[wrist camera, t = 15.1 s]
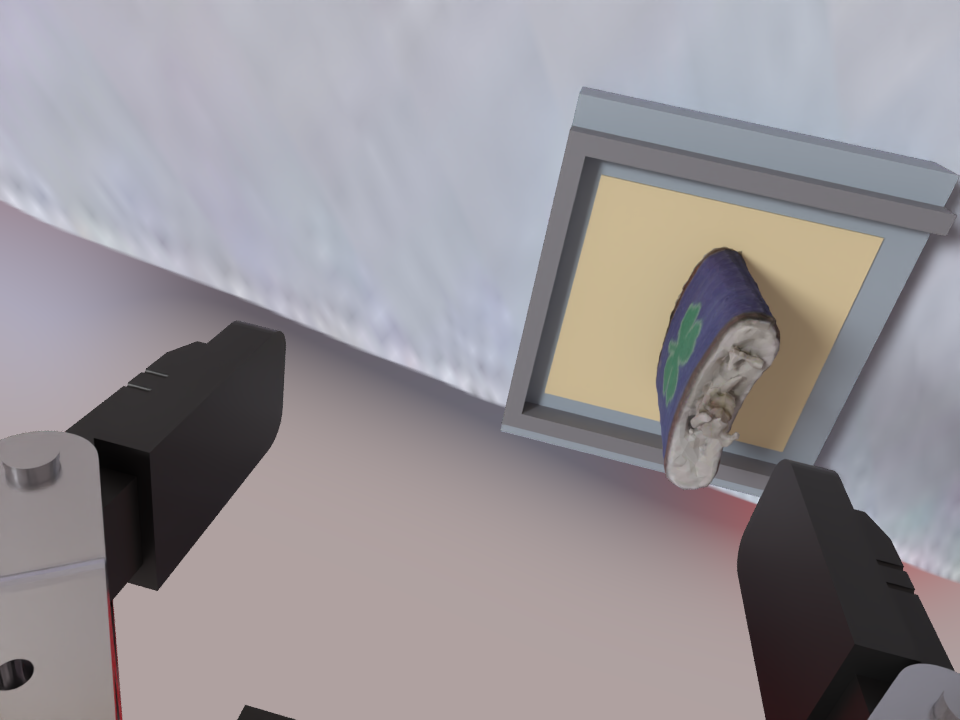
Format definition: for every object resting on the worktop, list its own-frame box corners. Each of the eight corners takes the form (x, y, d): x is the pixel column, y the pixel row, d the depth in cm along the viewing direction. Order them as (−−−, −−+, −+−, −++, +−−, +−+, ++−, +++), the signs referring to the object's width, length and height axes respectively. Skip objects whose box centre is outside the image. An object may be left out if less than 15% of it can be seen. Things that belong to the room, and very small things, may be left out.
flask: (691, 402, 40) (710, 525, 31) (641, 388, 41) (645, 505, 31) (757, 252, 36) (803, 342, 27) (700, 237, 36) (726, 320, 27)
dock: (582, 86, 37) (577, 97, 33) (935, 162, 36) (973, 183, 32) (507, 406, 46) (496, 444, 43) (783, 475, 45) (798, 521, 41)
